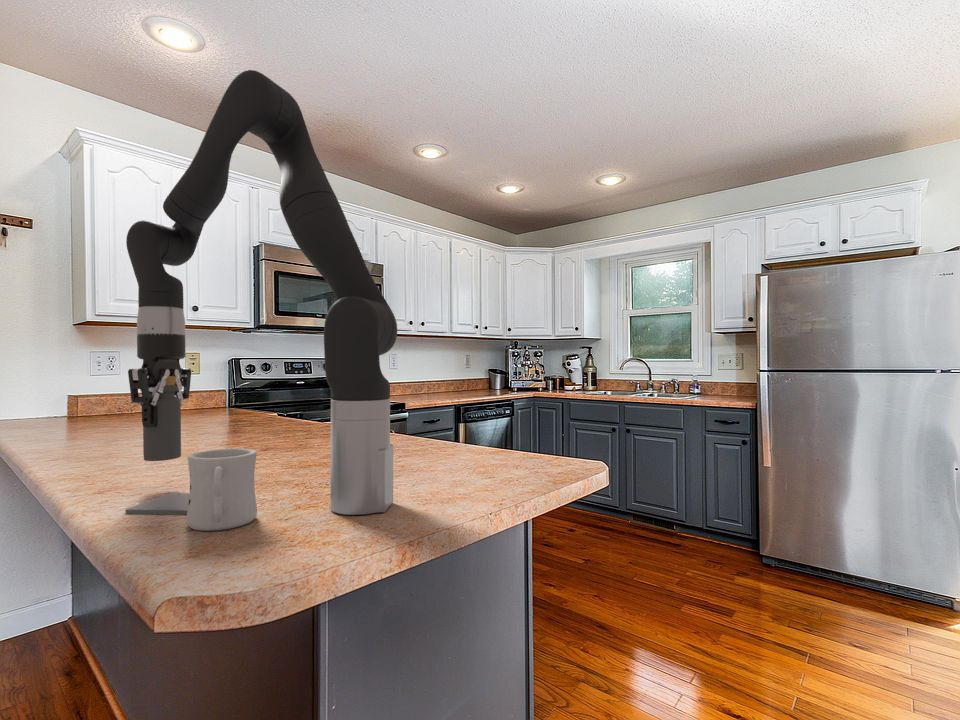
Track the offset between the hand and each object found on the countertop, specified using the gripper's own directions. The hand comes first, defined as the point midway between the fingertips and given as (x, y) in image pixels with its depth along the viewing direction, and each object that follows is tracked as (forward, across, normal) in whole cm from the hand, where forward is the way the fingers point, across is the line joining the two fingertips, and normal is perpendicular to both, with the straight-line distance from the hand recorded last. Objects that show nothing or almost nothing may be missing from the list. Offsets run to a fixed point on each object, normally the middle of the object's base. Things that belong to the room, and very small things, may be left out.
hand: (162, 424), depth 93 cm
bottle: (+6, 0, 0) cm, 6 cm away
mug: (+13, -20, -22) cm, 33 cm away
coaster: (+12, -10, -10) cm, 18 cm away
